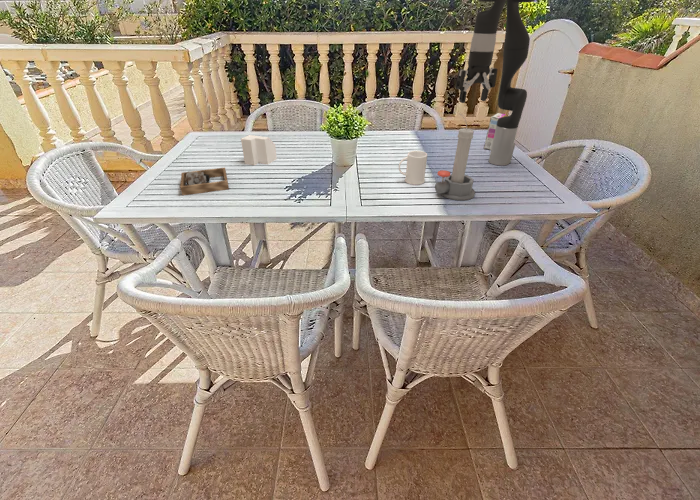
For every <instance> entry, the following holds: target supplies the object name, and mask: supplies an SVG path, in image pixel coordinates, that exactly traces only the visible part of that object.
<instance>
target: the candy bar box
mask: <svg viewBox="0 0 700 500" xmlns="http://www.w3.org/2000/svg"><path fill="white" fill-rule="evenodd" d="M501 117H507V114H505V113H502V112H500V113H499V112H497V113H495V114H494V115H492V116H490V119H489V123H488V128H487V131H486V132H487V133H486V137H485V142H484V147H483V149H484V150H489V151H491V148H492V143H493V139H494V134H495V129H496V125H497V121H498V119H499V118H501Z"/></svg>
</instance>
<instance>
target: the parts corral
mask: <svg viewBox="0 0 700 500" xmlns="http://www.w3.org/2000/svg"><path fill="white" fill-rule="evenodd" d="M187 172H188V171H184V172H180V173H181V175H180V185H179V186H180V192H181V194H182V196H188V195H189V196H190V195H196V194H204V193H210V192H211V193H212V192H217V191H226V190H230V187H229V182H228V181H229V180H228V175H227V170H226V167H219V168H208V169H202V170H192V171H190V172H193V173H194V172H203V173H204V174H207V175H209V178H210V179H211V178H219V177H223V178H224V180H220V181H213V182H206V183H203V184H195V185H187V183H186V174H187Z"/></svg>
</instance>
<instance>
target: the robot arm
mask: <svg viewBox="0 0 700 500" xmlns="http://www.w3.org/2000/svg"><path fill="white" fill-rule="evenodd" d="M478 1H479V2H483V3H484V2H486V3H487V2H489V3H490V2H492V3H493V4H492V6H491V7H490V8H489V9H487V10H483V11H482V10H481V11H479V12H478V13H477V14H476V17H475V20H474V21H475V22H474V28H473V35H472V38H471V41H470V48H469V55H468V60H467V69H459V70H458V72H457V78H456V82H455V89H457V90H458V91H460V92H459V98H458V100H459V103H462V104H465V103H466V100H467V99H466V98H467V91H468V89H469V88H470V87H471V86H472V85H473V84H481V86H482V88H481V94H480V101H482V102H486V101H487V99H488V95H489V91H490V89H492V88H495V87H496V81H497V75H498V68H496V67H491V65H492V62H493V57H494V51H495V47H496V42H497V41H496V40H497V33H498V27H499V23H500V22H499V21H500V19H501V15H502V12H503V10H504V7H505V5H506V19H505V21H506V23H505V33H504V34H505V36H504V44H503V52H502V53H503V54H502V70H501V79H500V83H499V84H500V85H499V89H498V90H499V91H498V96H497V106H498V108H499V109H501V110H505V111H510V112H511V114H510V115H508V116H507V115H506V117H501V118H499V119H498V121H497V125H496V129H495V134H494V139H493V143H492V148H491V150H490V152H489V158H488V162H489V164H491V165H496V166H503V167H504V166H507V165H509V164H511V162H512V158H513V155H514V150H515V147H516V143H515V140H516V136H517V132H518V128H519V124H520V121H521V119H522V114H523V111H524V108H525V104H526V102H527V98H528V92H527V89H523V88H519V87H518V88H517V87H512V86H511V85H512V80H513V78H514V76H515V74H516V73H517V72H518V71H519V70H520V68H521V67H522V66H523V65H524V63H525V62H526V60H527V58H528V56H529V55H528V54H529V48H530V34H529V33H528V29H527V27H526V26H525V23H524V22H523V20H522V17H521V14H520V5H519V4H520V3H532V2H534V1H536V0H478ZM465 77H466V78H465Z"/></svg>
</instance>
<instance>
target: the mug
mask: <svg viewBox="0 0 700 500" xmlns="http://www.w3.org/2000/svg"><path fill="white" fill-rule="evenodd" d="M404 161H406V171H405V172H404V171H402V170H401V164H402V163H403V162H404ZM427 162H428V153H427V152H425V151H422V150H412V151H409V152H407V156H406V157H404V158H402V159H401V160H400V162H399V164H398V171H399V172H400V174H401V175H403V176H405V178H404V181H405V183H407V184H409V185H413V186H414V185H415V186H420V185H423V184H424V183H425V182H426V181H425V178H426V168H427Z"/></svg>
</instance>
